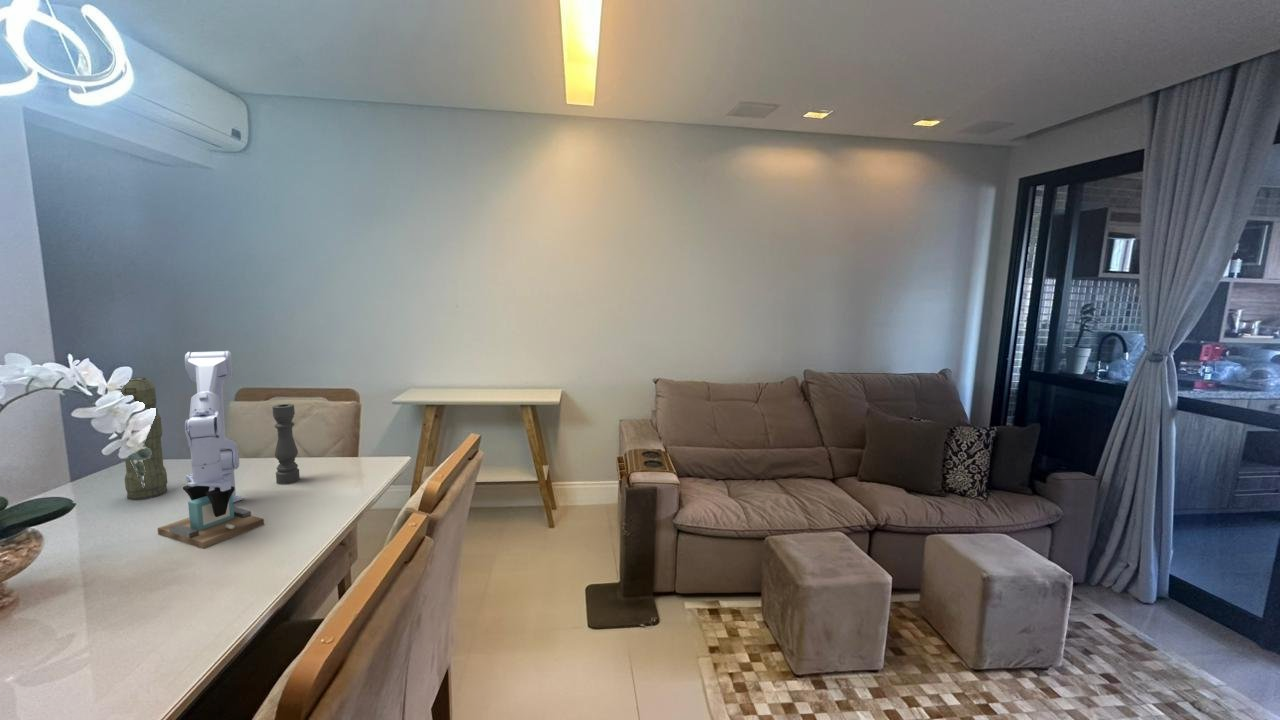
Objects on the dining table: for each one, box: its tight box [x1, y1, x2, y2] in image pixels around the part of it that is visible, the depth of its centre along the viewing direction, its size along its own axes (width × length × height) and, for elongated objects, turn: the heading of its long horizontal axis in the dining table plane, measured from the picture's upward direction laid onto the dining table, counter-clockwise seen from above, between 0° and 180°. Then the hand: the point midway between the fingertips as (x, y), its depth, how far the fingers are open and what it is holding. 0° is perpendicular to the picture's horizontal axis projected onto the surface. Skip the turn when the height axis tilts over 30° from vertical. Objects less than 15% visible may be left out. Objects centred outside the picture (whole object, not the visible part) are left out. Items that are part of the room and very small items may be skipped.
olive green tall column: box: [121, 377, 169, 501], centre depth 148 cm, size 9×12×35 cm
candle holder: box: [272, 403, 301, 485], centre depth 162 cm, size 6×6×25 cm
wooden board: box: [157, 505, 265, 549], centre depth 131 cm, size 18×14×3 cm
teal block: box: [187, 495, 234, 531], centre depth 130 cm, size 4×8×7 cm, turn 159°
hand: (210, 512), depth 130 cm, fingers open, 7 cm apart
